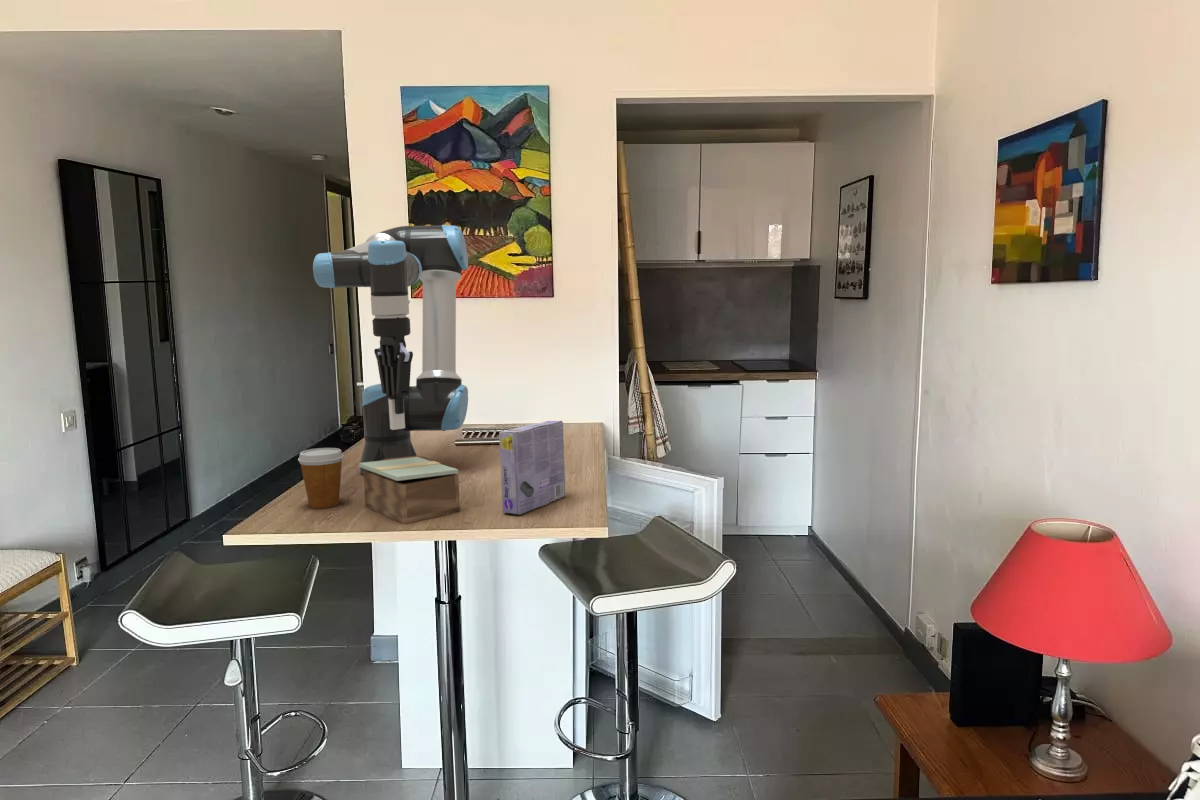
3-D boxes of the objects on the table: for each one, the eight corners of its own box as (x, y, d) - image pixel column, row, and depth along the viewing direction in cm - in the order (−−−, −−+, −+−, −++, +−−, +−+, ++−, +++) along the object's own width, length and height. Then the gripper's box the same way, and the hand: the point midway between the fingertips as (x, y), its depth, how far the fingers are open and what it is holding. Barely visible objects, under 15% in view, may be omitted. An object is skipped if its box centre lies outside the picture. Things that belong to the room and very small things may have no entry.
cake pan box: (551, 493, 182) (549, 417, 180) (569, 495, 180) (568, 419, 177) (499, 514, 166) (496, 431, 163) (519, 517, 163) (516, 433, 161)
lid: (358, 466, 171) (358, 462, 171) (417, 460, 181) (417, 456, 181) (397, 480, 158) (397, 475, 158) (458, 473, 167) (458, 468, 167)
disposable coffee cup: (311, 499, 180) (307, 447, 179) (352, 498, 180) (349, 447, 178) (294, 510, 171) (290, 456, 169) (337, 510, 171) (334, 455, 169)
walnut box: (365, 506, 173) (363, 470, 172) (418, 495, 182) (417, 461, 181) (403, 523, 160) (401, 485, 159) (459, 511, 168) (458, 474, 167)
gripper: (422, 316, 161) (428, 430, 165) (393, 314, 171) (399, 421, 175) (388, 318, 156) (395, 435, 160) (360, 316, 166) (367, 426, 170)
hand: (397, 428), depth 167 cm, fingers closed
